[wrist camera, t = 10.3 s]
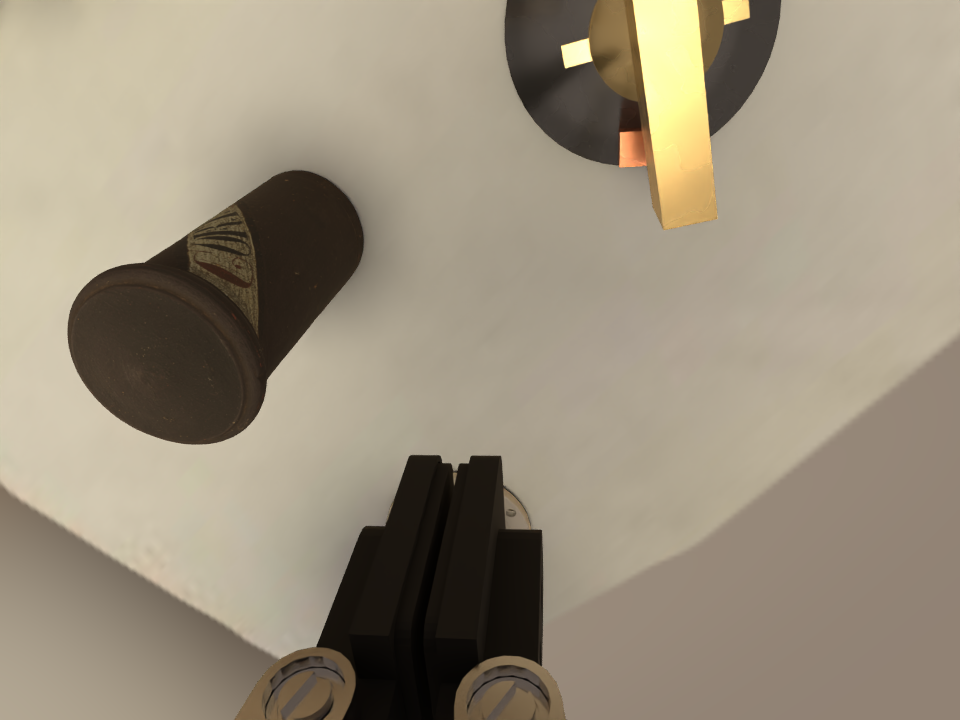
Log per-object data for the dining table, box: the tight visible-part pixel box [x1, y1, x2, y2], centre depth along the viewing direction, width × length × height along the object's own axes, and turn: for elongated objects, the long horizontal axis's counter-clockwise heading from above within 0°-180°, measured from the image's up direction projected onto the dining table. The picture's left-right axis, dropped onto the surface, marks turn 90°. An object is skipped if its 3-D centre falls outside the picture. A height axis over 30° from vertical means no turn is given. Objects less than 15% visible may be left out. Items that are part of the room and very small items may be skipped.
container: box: [68, 171, 363, 444], centre depth 36 cm, size 9×9×20 cm
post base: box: [505, 0, 781, 167], centre depth 34 cm, size 15×15×6 cm
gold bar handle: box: [561, 0, 750, 230], centre depth 29 cm, size 9×16×6 cm, turn 15°
